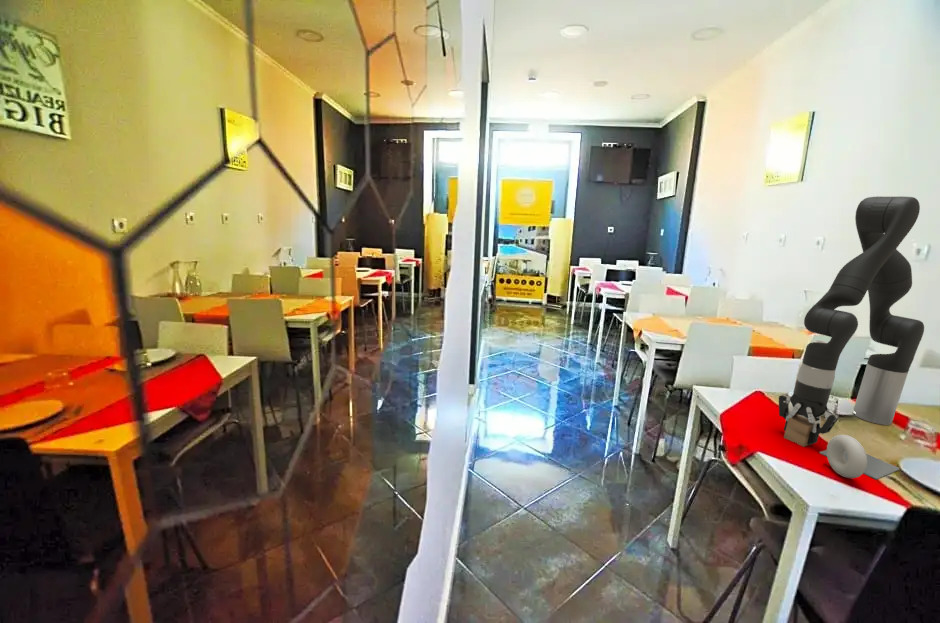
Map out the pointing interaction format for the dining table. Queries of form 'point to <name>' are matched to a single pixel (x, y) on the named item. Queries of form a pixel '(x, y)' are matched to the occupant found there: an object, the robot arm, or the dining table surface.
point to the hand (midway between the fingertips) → (799, 438)
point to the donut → (855, 456)
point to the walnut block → (798, 430)
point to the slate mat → (873, 466)
